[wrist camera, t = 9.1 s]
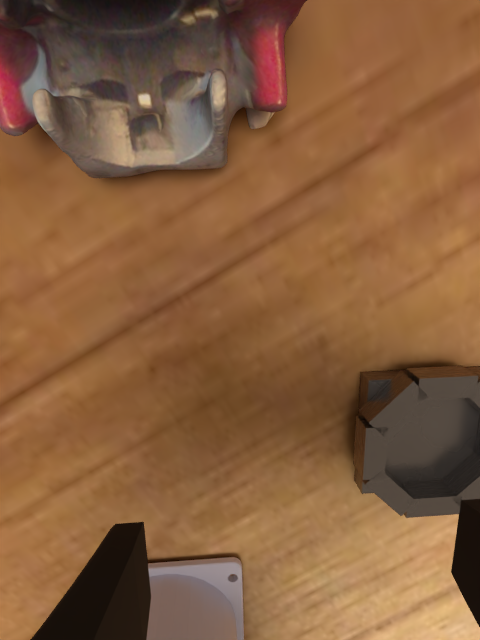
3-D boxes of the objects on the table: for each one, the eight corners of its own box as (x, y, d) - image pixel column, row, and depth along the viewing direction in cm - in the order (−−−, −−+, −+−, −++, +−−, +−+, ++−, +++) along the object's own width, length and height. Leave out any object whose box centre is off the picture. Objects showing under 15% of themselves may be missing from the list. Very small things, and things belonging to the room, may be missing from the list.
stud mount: (474, 480, 21) (504, 510, 18) (344, 489, 20) (360, 521, 18) (492, 356, 19) (527, 373, 17) (351, 362, 18) (368, 381, 16)
